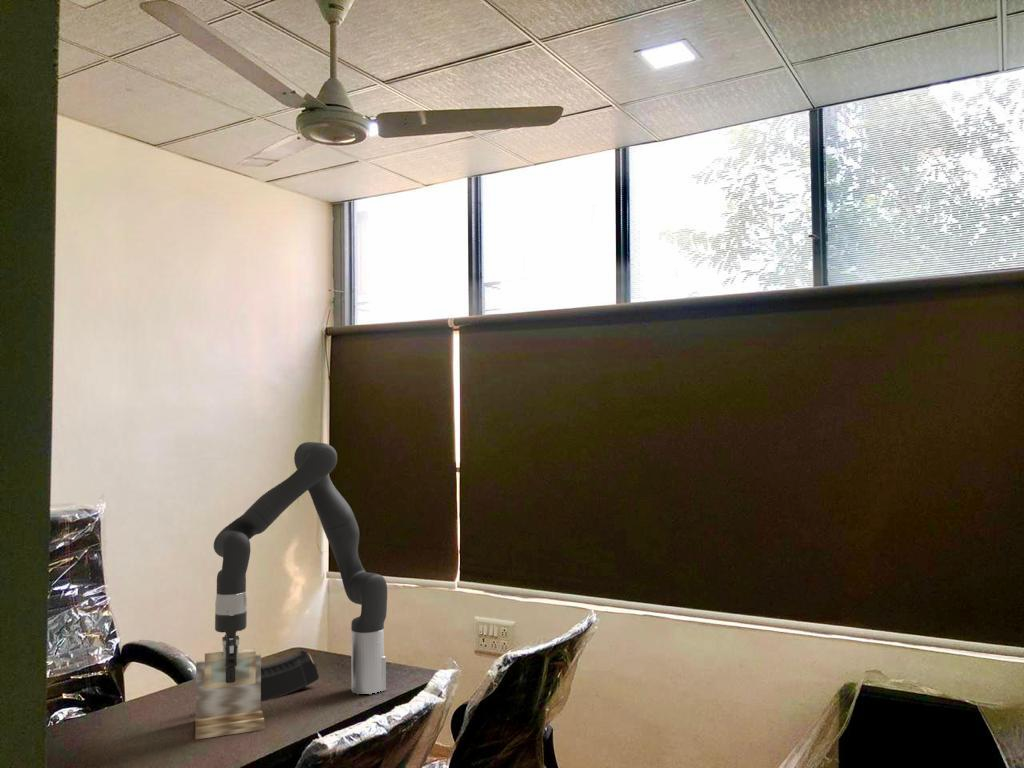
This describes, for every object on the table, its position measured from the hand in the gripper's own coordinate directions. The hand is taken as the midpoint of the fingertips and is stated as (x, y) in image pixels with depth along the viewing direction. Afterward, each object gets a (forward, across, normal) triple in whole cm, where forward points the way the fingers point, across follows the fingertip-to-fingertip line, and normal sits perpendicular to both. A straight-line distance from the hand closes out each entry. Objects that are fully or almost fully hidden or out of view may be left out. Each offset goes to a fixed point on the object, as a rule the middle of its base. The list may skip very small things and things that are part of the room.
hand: (230, 680), depth 199 cm
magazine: (+12, -22, +11) cm, 27 cm away
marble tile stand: (+12, -4, 0) cm, 13 cm away
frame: (+1, 0, 0) cm, 1 cm away
